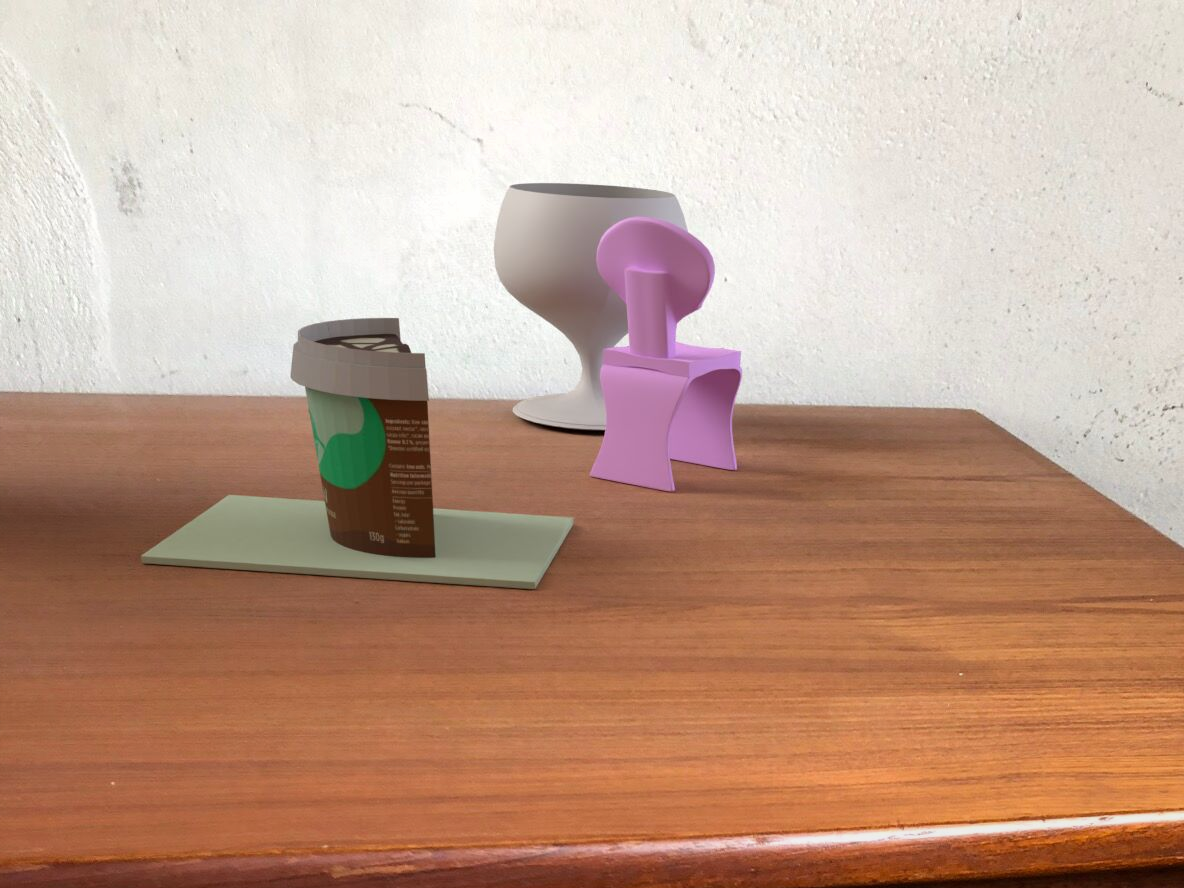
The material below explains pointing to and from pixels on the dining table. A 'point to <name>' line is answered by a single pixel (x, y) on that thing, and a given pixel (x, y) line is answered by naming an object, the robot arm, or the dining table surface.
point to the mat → (304, 546)
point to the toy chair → (662, 360)
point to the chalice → (570, 278)
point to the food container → (369, 434)
